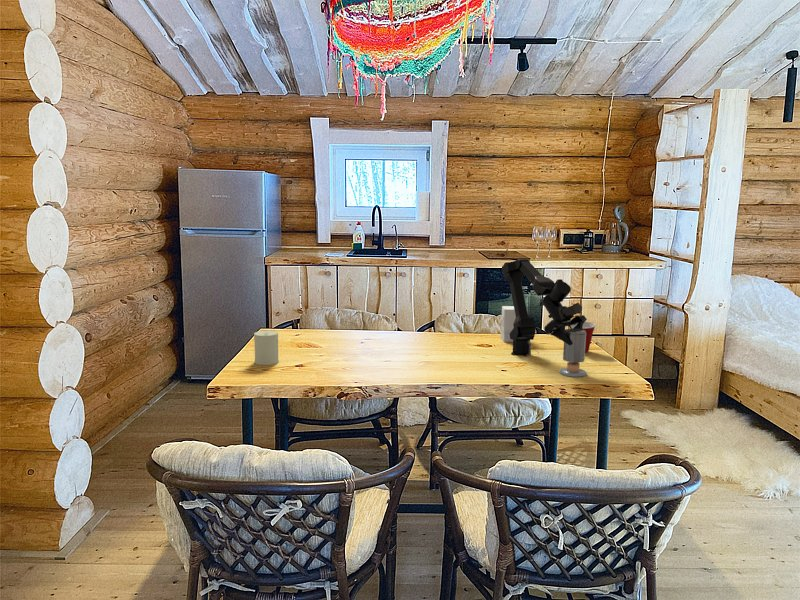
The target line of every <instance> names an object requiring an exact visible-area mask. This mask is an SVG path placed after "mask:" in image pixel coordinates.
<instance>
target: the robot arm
mask: <svg viewBox="0 0 800 600" xmlns="http://www.w3.org/2000/svg"><path fill="white" fill-rule="evenodd" d="M501 272H502V275H503V278H504V280H505V281H506V282H507V283H508V285H509V288H510V294H511V299H512V304H513V305H512V306H514V310H515V315H516V318H515V321H514V324H513V326H514V328H513V330H512V331H511V332H510V334H509V335H510V339H512V340H513V342H512V352H511V353H510V355H515V356H522V357H527V356H529V355H531V352H532V343H531V340H532V341H533V340H534V338H535V334H536V331H537V328H536V323H535V319H534V317H532V316H530V315H529V314H528V309H527V304H526V298H525V294H524V289H523V284H522V280H523V277H524V276H525V277H526V278H527V279H528V281H529V282H530V283H531V284H532V290H533V291H534V293H535V294H536V296H539V297H540V296H541V297H542V296H544V297H543V298H541V299H539V307H543V306H544V308H545V309H546V311H547V312H548V314H549V315H547V316H548V318H549V319H551V320H550V321H549V322H548V323H547V324H545V326H544V327H543V328H544V329H543V330H544V332H545V335H550V336H553V337H555V338H557V339H558V340H560V341H562V342H563V343H564V342H565V343H567V344H568V345H572V342H571V340H570V338H569V336H568V335H567V333H566V331H565V330H566V327H569V329H581V330H583V328H582V327H583V324H584V323H585V322H587V318H586V316H585V315H583V314H581V313H582V311H583V305H581V304H580V303H579V302H576V303H573V304H572V305H570V306H566V305H564V306H563V305H562V303H561V302H563V301H564V300H565V299H566V298H567V297H568V295H569V294H570V293H571V292H572V288H571V286H570V285H569V284H568V283H566V282H565V281H563V278H562V279H561V278H559V279H556V280H555V281H553V280H552V279H551V278H549V277H547V276H544V275H542V273H540V271H539V270H538V269H537V268H536V267H535V266H534V265H533V264H532V263H531V261H530V259H528V258H518V259H515V260H513V261H508V262H504V263H503V265H502V266H501ZM577 314H578V315H577Z"/></svg>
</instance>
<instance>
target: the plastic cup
mask: <svg viewBox="0 0 800 600" xmlns="http://www.w3.org/2000/svg"><path fill="white" fill-rule="evenodd" d="M596 326H597V325H596V323H594V322H591V321H585V323H584V324H583V327H582V328H583V330H585V331H586V345H585V354H586V353H587V354H588V352H589V351H590V347H591V344H592V338H593V335H594V331H595V328H596Z"/></svg>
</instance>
